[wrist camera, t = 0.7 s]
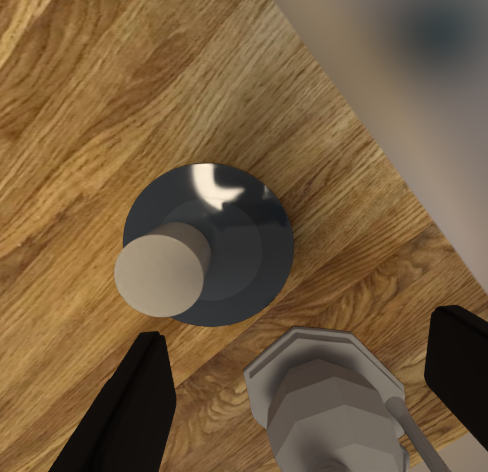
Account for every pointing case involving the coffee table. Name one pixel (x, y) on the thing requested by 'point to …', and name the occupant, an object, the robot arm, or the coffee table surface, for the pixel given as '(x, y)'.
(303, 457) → the grey faceted model
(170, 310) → the short beige cylinder
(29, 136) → the coffee table surface
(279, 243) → the plate
